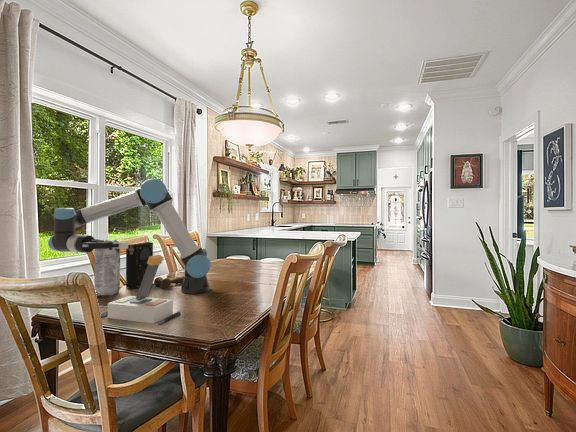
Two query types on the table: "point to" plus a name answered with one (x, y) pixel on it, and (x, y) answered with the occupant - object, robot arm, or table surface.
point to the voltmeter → (137, 263)
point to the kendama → (167, 282)
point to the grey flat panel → (158, 321)
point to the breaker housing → (140, 309)
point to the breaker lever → (149, 276)
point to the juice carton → (107, 271)
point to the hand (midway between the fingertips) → (126, 245)
